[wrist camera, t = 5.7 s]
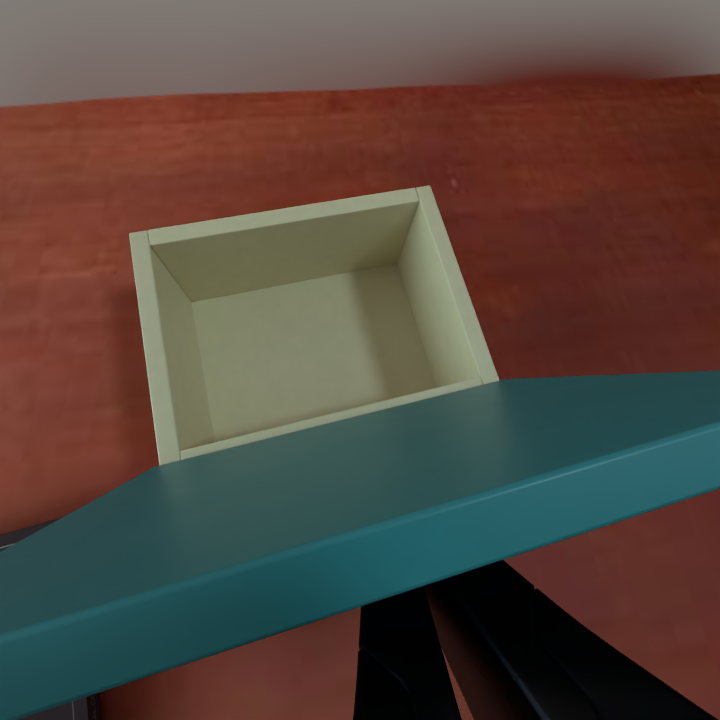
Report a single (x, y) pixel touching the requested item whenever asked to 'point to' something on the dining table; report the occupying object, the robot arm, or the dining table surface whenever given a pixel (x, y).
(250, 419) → the lunchbox
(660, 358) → the dining table surface
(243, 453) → the lid
